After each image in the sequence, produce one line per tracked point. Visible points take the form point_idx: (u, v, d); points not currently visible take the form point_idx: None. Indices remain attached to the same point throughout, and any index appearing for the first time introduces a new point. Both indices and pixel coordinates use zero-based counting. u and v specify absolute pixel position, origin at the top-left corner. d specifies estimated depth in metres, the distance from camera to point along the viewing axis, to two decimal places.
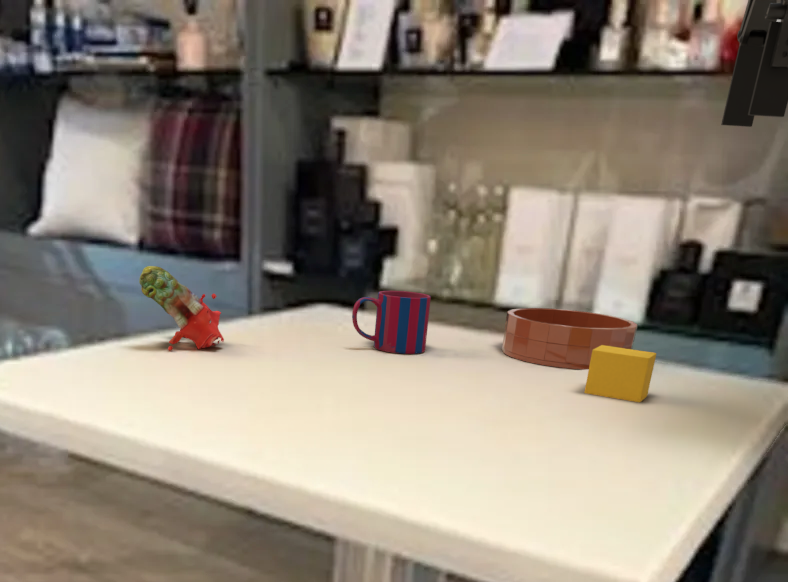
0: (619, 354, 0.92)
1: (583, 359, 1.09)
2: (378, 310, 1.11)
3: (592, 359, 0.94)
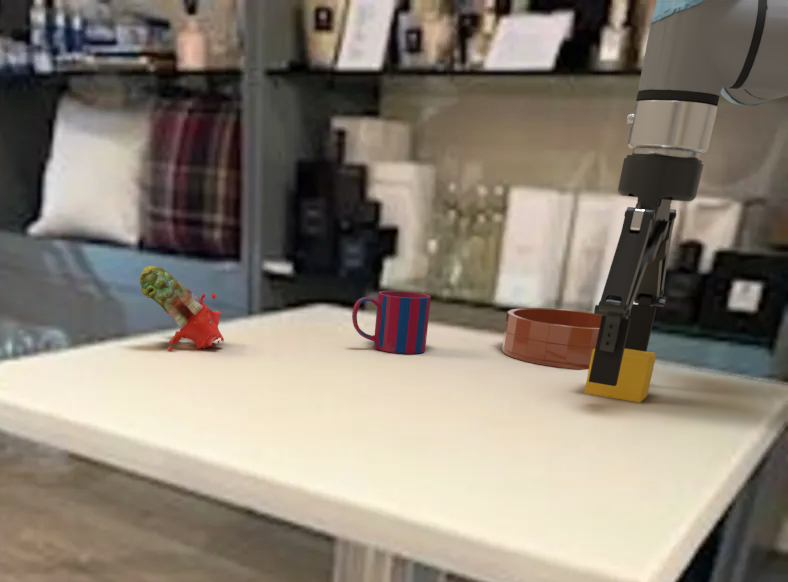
0: None
1: (583, 359, 1.09)
2: (378, 310, 1.11)
3: (592, 359, 0.94)
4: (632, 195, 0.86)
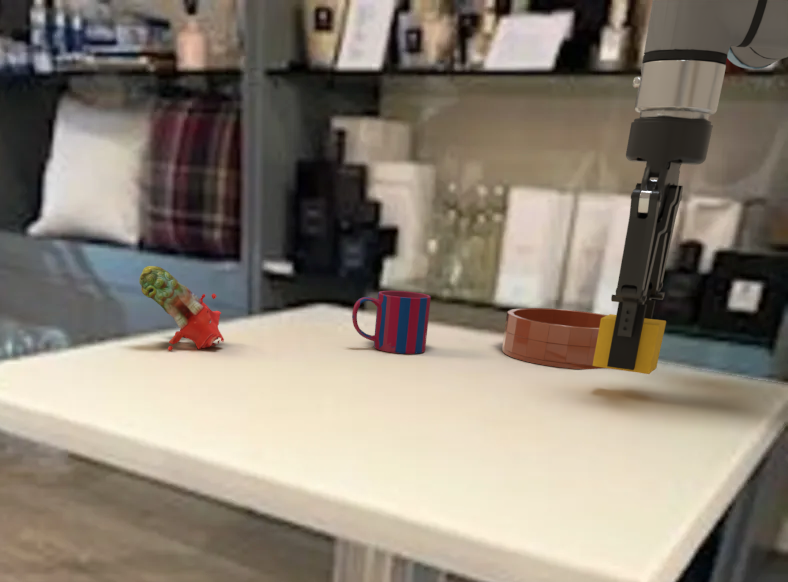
0: None
1: (583, 359, 1.09)
2: (378, 310, 1.11)
3: (601, 328, 0.92)
4: (640, 159, 0.85)
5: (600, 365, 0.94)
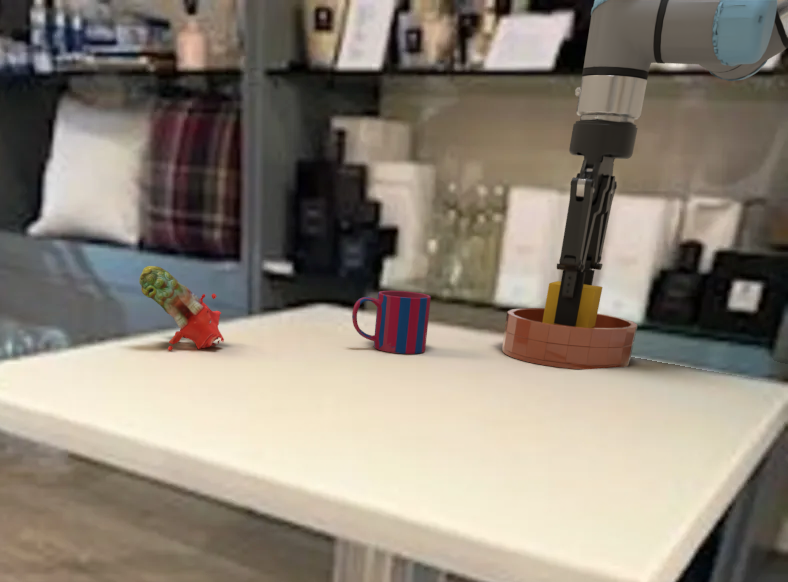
0: None
1: (583, 359, 1.09)
2: (378, 310, 1.11)
3: (549, 291, 1.13)
4: (580, 154, 1.05)
5: (548, 322, 1.14)
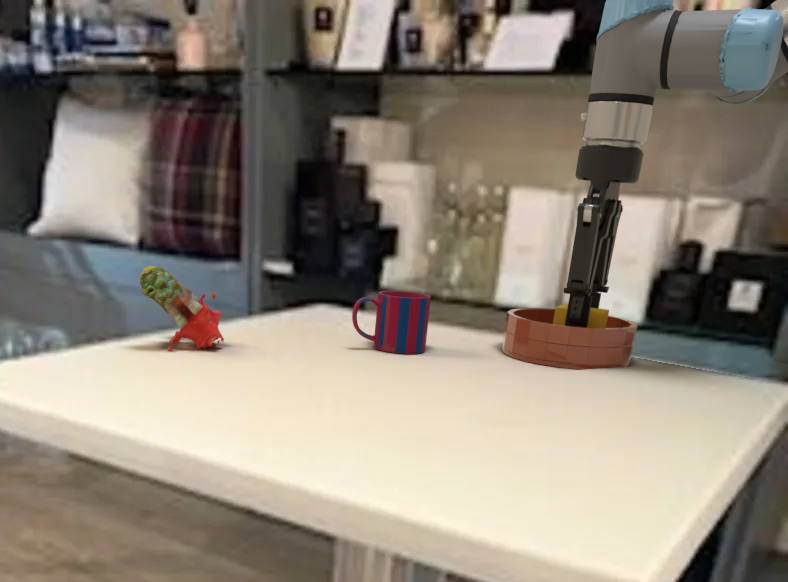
0: None
1: (583, 359, 1.09)
2: (378, 310, 1.11)
3: (555, 315, 1.13)
4: (586, 179, 1.05)
5: None
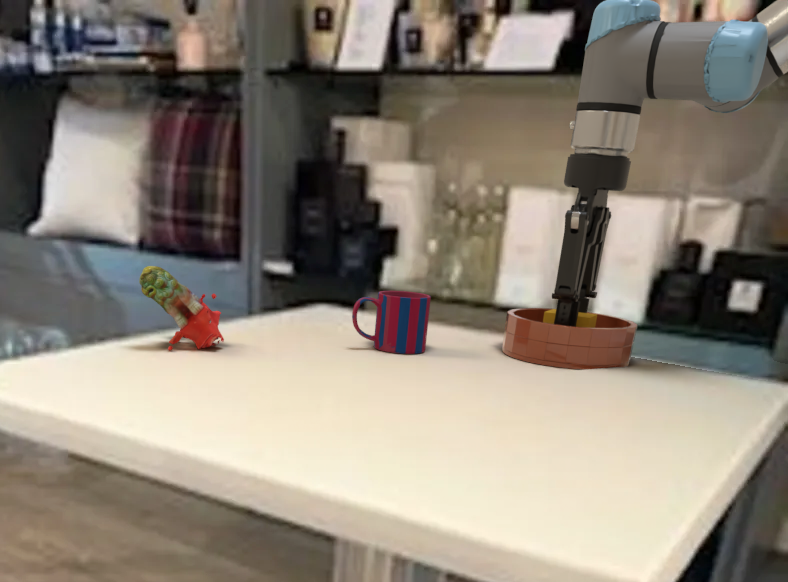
0: None
1: (583, 359, 1.09)
2: (378, 310, 1.11)
3: (544, 319, 1.14)
4: (574, 186, 1.07)
5: None
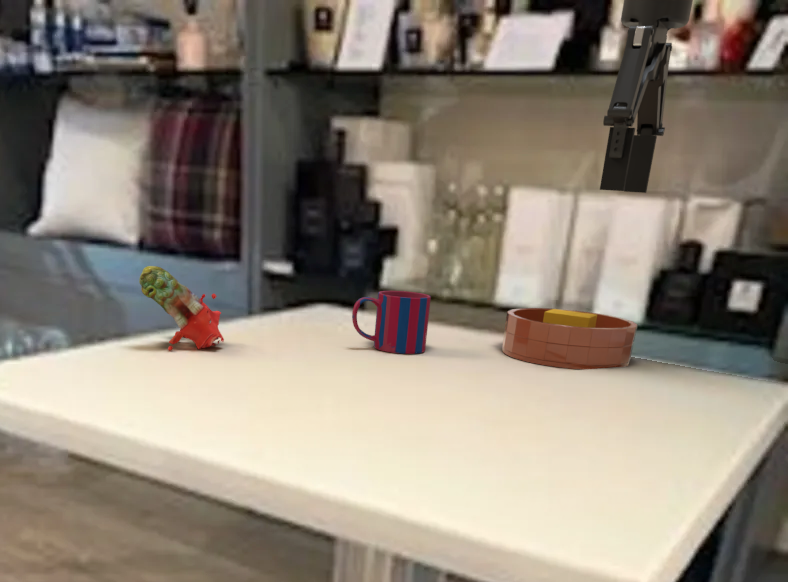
0: (566, 315, 1.13)
1: (583, 359, 1.09)
2: (378, 310, 1.11)
3: (544, 319, 1.14)
4: (633, 21, 0.99)
5: None
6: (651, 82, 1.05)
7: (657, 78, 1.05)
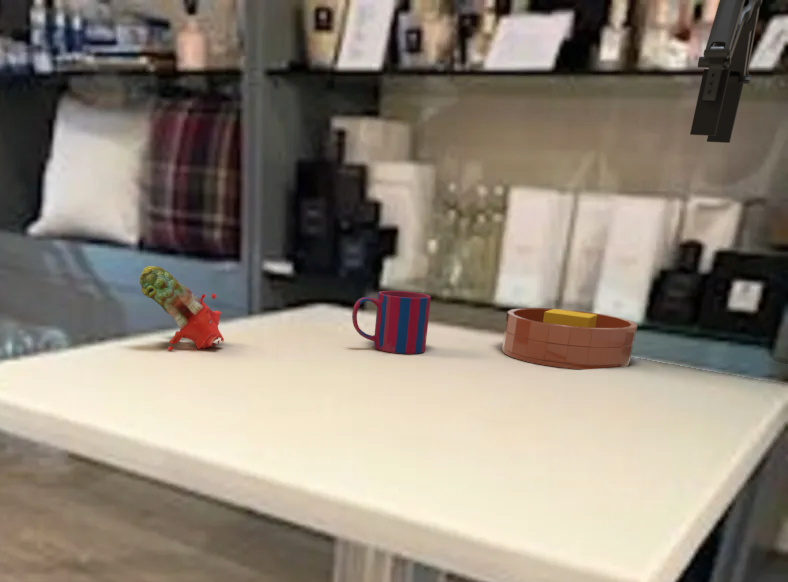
0: (566, 315, 1.13)
1: (583, 359, 1.09)
2: (378, 310, 1.11)
3: (544, 319, 1.14)
4: None
5: None
6: (742, 26, 1.03)
7: (749, 22, 1.03)
